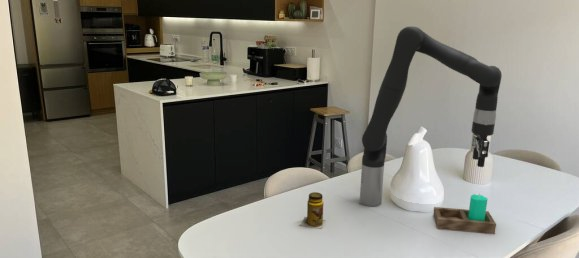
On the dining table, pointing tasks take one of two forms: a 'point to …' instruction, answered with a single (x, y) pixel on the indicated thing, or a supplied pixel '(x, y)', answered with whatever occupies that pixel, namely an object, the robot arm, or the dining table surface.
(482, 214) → the candle
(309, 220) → the condiment
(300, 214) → the dining table surface
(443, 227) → the slot rack
